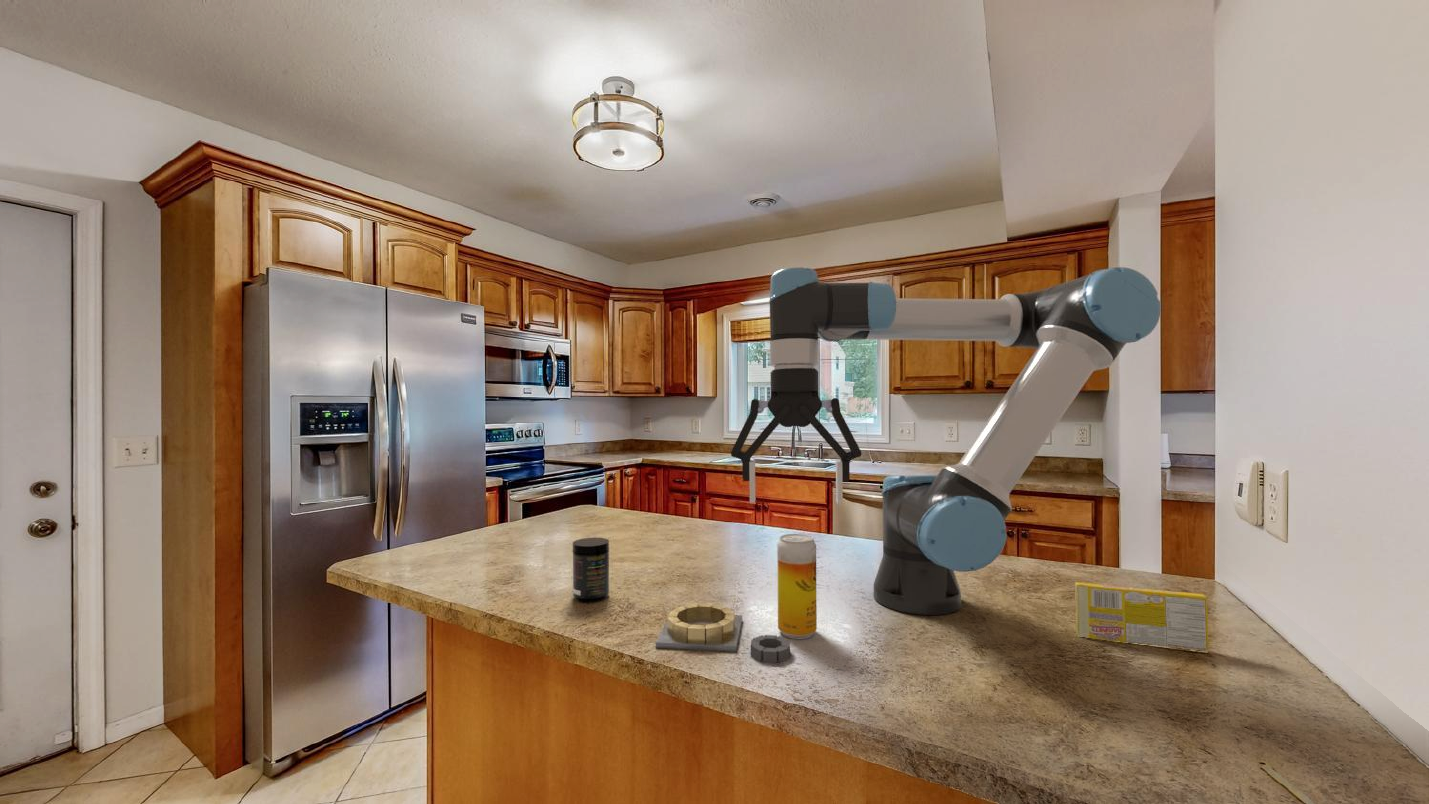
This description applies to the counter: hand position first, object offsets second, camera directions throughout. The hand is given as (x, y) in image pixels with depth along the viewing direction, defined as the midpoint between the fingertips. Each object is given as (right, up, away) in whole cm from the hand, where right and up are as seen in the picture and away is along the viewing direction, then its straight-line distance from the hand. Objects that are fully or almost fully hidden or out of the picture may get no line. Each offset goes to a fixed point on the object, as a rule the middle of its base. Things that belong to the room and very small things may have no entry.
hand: (795, 502), depth 89 cm
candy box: (+51, -21, -4) cm, 55 cm away
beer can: (0, -21, 0) cm, 21 cm away
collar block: (-15, -21, 0) cm, 25 cm away
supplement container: (-36, -21, +17) cm, 45 cm away
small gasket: (-5, -21, -7) cm, 22 cm away
